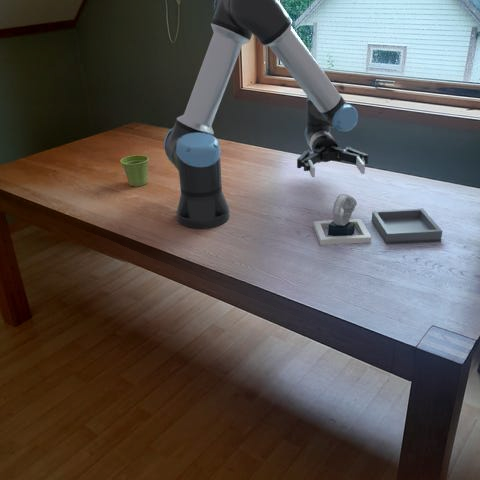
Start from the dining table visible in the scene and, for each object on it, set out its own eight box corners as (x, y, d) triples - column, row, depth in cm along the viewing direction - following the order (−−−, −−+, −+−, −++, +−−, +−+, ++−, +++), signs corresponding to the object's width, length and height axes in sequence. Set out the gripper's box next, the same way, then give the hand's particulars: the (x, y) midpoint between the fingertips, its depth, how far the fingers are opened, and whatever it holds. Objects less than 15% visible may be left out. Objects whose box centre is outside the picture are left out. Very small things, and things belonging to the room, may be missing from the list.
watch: (357, 230, 139) (360, 192, 133) (344, 242, 133) (346, 203, 128) (338, 226, 142) (340, 188, 136) (324, 237, 136) (326, 198, 131)
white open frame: (320, 245, 132) (320, 239, 132) (313, 226, 142) (313, 221, 141) (371, 242, 132) (371, 237, 132) (360, 223, 142) (360, 218, 142)
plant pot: (127, 190, 170) (123, 165, 166) (121, 181, 178) (117, 157, 174) (154, 185, 174) (152, 161, 170) (147, 177, 181) (144, 153, 177)
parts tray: (386, 244, 131) (387, 233, 130) (371, 220, 144) (372, 211, 142) (440, 241, 131) (442, 231, 130) (421, 218, 144) (422, 208, 143)
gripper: (363, 155, 160) (383, 180, 141) (283, 161, 160) (292, 186, 141) (365, 132, 157) (385, 154, 138) (283, 137, 156) (292, 160, 138)
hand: (338, 170), depth 139 cm, fingers open, 13 cm apart
